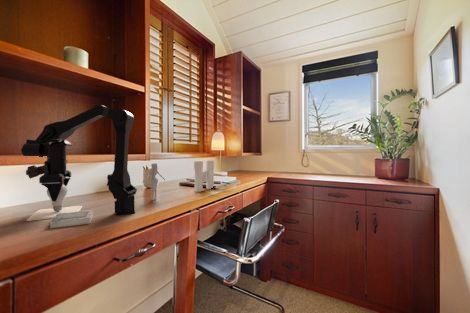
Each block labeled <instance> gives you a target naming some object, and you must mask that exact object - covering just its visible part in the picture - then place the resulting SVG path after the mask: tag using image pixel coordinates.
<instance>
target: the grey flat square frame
mask: <svg viewBox="0 0 470 313" xmlns="http://www.w3.org/2000/svg"><path fill="white" fill-rule="evenodd" d="M93 216H94V209H90V210H89V209H88V210H80V211H77V212H67V213H58V214H57V215H56V216H55V217H54V218H52V219H51V220H50V222H49V229H57V228H65V227H73V226H80V225H88V224H89V225H90V224H91V222H92V220H93Z"/></svg>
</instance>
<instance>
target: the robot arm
mask: <svg viewBox="0 0 470 313" xmlns="http://www.w3.org/2000/svg"><path fill="white" fill-rule="evenodd" d="M103 117H105V118H108V119H111V121H112V127H113V129H114V132H115V141H114V142H115V144H114V145H115V146H114V162H113V163H114V164H113V170H112V173H111V174H107V183H106V187H107V188H108V192H109V191H110V192H111V194H112V196H113V199H115V200H114V213H115V215H116V216H121V215H129V214H130V215H131V214H136V210H135V195H136V194H137V188H136V187H135V186H134V185H133V184H132V182H131V175H130V173H129V171H128V164H129V162H128V160H129V141H130V140H129V138H130V137H129V136H130V133H131V132H132V131H131V130H132V129H133V126H134V121H135V116H134V115H133V113H131V112H129V111H127V110H125V109H123V108H117V109H114V108H110V107H107V106H105V105H102V104H95V105H94V106H93V107H91V108H88V109H86V110H85V111H82V112H80V113H77V114H76V115H74V116H72V117H70V118H68V119H65V120H60V121H55V122H50V123H47V124H46V125H44V126H43V130H42V131H41V132H40V134H39V135H38V136H37V138H36V139H26V140H25V141H26V142H25V143H24V144H23V145H22V146H21V149H20V150H21V154H22V155H23V157H24V156H39V157H43V156H47V157H46V160H45V161H44V163H43V165H40V166H36V165H35V164H33V165H30V166H27V169H26V170H25V175H26V176H28V178H29V179H33V178H36V177H38V176H40V177H39V178H38V179H39V180H38V181H39V184H40V185H42V186H44V187H45V188H47V189H48V191H49V193H50V196H51V199H52V201H56V200H57V198H58V196H59V193H60V191H61V188H62V186H63V184H64V185H65V186H66V187H67V186H68V184H69V182H70V180H71V177H72V172H71V171H70V170H69V169H67V164H68V160H67V147H72V146H73V144H72V143H71V142H70V141H68V138H70V137H72V136H73V135H74V133H75V132H76V131H77V130H78V129H81V128H83V127H85V126H87V125H90V124H91V123H93V122H96V121H97V120H99V119H101V118H103ZM51 199H50V200H51ZM52 201H51V202H52Z"/></svg>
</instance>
